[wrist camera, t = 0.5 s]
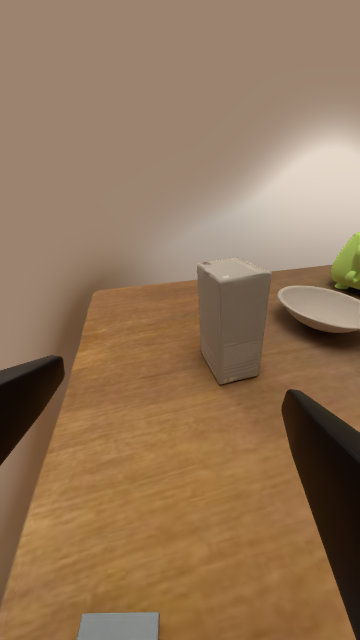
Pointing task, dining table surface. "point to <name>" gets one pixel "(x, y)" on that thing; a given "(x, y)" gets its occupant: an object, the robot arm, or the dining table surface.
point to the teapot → (348, 265)
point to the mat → (119, 626)
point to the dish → (322, 308)
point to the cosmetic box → (232, 316)
